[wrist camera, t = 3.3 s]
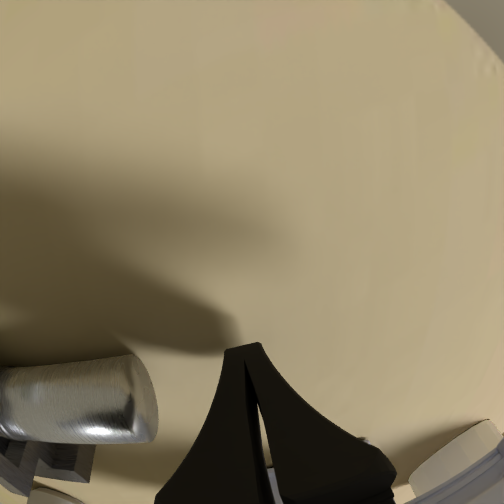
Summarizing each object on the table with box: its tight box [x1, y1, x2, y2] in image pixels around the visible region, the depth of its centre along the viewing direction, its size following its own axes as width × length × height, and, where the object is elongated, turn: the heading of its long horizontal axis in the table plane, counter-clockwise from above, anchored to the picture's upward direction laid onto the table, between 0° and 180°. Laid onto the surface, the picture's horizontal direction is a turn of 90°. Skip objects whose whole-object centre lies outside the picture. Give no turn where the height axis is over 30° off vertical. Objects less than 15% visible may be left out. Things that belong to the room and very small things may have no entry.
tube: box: [0, 354, 158, 444], centre depth 10 cm, size 12×4×4 cm, turn 100°
